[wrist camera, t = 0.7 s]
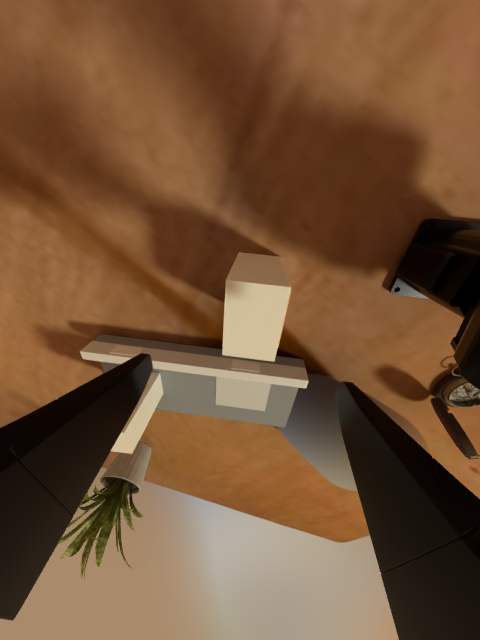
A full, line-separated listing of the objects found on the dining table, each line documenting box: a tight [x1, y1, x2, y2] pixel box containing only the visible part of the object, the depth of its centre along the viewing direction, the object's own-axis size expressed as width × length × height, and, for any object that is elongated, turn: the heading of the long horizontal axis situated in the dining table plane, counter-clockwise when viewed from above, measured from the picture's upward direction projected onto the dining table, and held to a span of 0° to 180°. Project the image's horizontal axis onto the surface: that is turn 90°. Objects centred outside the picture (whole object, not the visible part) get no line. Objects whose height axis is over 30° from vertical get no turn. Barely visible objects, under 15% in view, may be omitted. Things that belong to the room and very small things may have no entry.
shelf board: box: [80, 334, 308, 427], centre depth 27 cm, size 26×12×4 cm, turn 85°
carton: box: [222, 252, 291, 362], centre depth 17 cm, size 4×6×8 cm
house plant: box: [57, 441, 152, 575], centre depth 33 cm, size 14×14×16 cm
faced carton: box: [111, 372, 163, 454], centre depth 24 cm, size 4×6×8 cm
